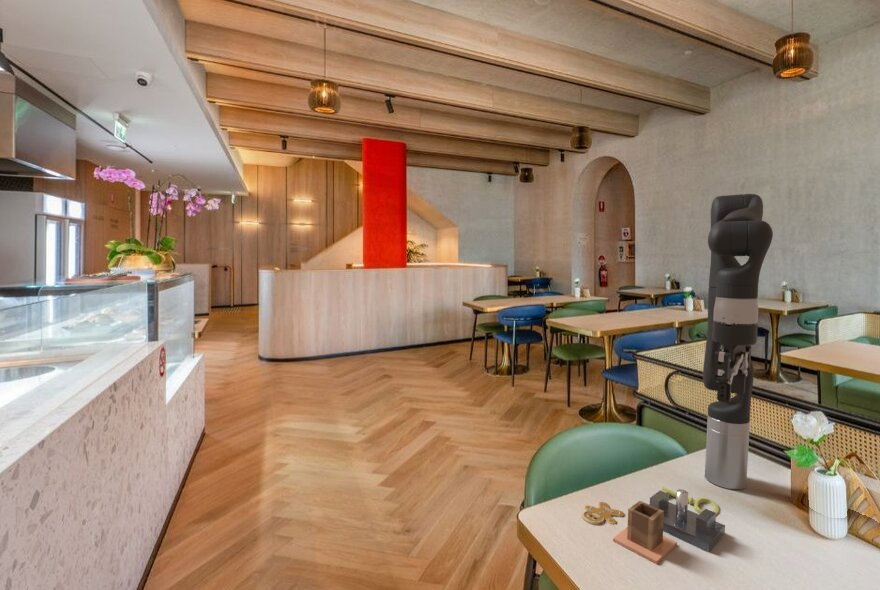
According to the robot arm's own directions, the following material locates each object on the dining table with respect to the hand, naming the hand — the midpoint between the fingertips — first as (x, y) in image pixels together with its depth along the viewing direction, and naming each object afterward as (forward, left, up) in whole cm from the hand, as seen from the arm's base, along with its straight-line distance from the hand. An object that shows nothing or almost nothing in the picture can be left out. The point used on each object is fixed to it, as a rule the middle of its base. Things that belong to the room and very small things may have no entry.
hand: (731, 397), depth 89 cm
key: (-8, -9, -31) cm, 33 cm away
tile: (+16, -10, -30) cm, 35 cm away
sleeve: (+16, -10, -30) cm, 35 cm away
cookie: (+13, -21, -31) cm, 39 cm away
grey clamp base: (+4, -7, -30) cm, 31 cm away
